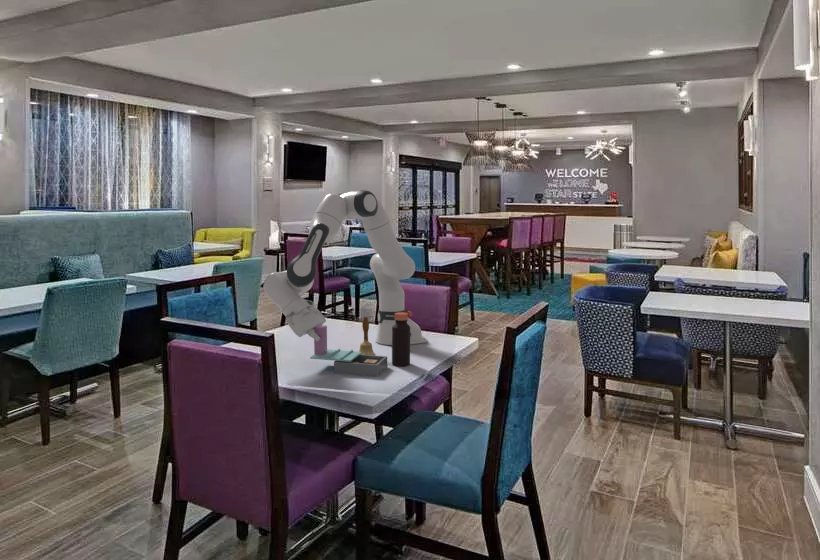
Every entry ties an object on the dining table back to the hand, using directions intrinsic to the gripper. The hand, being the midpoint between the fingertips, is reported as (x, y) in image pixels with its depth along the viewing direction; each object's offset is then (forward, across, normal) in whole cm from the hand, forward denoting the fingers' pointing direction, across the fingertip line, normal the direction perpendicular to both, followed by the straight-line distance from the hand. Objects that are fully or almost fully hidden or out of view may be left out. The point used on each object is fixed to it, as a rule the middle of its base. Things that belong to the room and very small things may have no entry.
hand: (322, 338), depth 209 cm
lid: (+8, 0, +1) cm, 8 cm away
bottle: (+27, +11, -11) cm, 31 cm away
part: (+20, +2, -5) cm, 21 cm away
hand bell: (+15, +21, +1) cm, 26 cm away
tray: (+19, 0, -2) cm, 19 cm away
